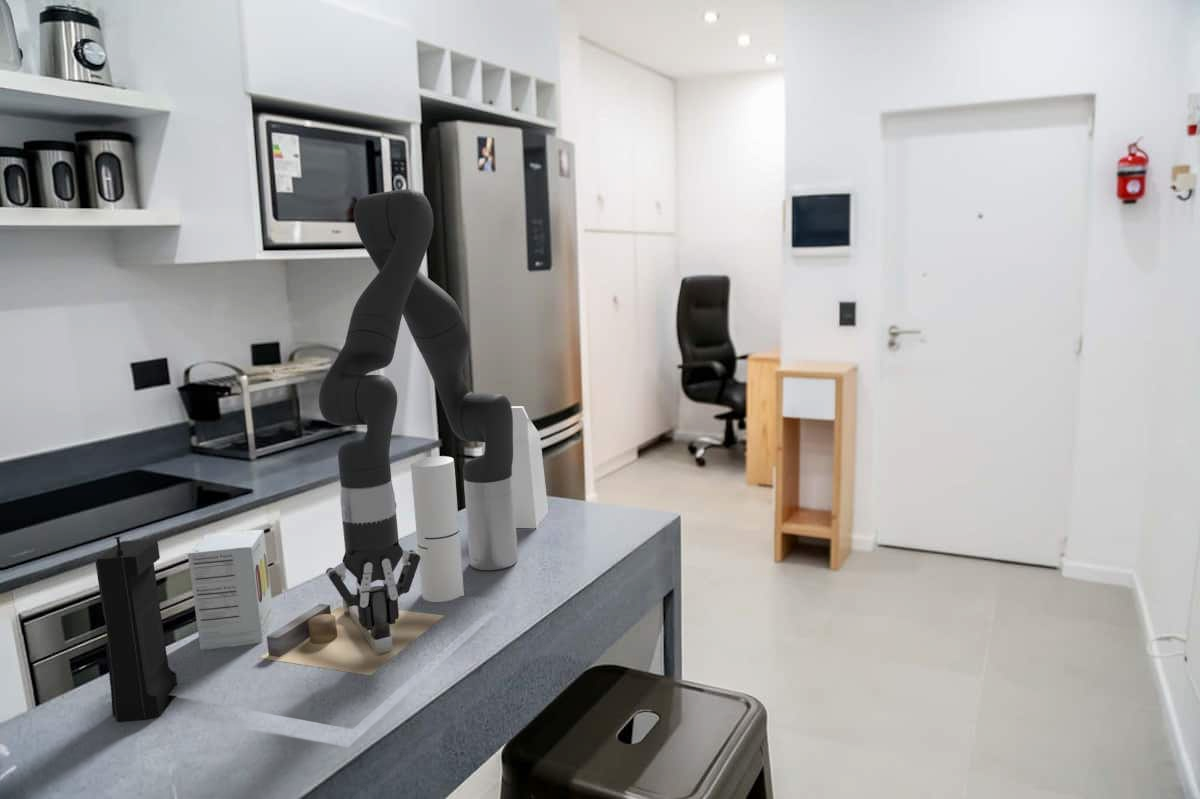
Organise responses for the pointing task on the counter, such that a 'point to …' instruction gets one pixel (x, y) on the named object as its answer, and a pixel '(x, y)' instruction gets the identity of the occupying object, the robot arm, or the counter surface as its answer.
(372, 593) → the lever
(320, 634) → the nut
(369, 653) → the nutcracker board
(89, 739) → the counter surface
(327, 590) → the counter surface
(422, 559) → the cylindrical container
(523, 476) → the milk
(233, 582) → the supplement box
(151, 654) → the portable radio
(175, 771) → the counter surface
